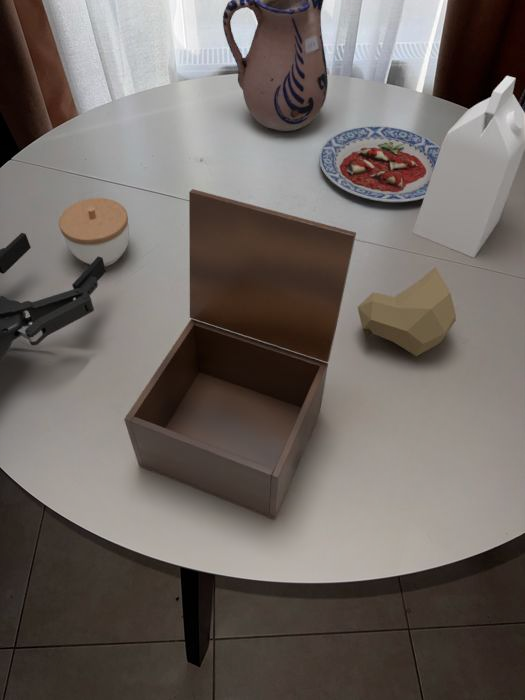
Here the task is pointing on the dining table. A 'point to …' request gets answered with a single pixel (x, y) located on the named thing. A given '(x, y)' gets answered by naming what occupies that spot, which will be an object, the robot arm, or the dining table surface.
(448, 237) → the milk
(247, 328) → the lid
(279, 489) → the chest
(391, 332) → the tan faceted lump
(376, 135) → the ceramic plate
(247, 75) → the ceramic pitcher
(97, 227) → the trinket box
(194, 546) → the dining table surface
